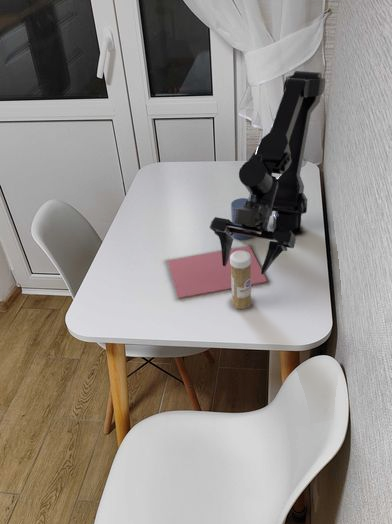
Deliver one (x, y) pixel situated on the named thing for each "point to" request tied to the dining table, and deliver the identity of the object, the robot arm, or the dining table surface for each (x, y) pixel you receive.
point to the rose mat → (208, 273)
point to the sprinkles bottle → (241, 279)
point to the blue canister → (234, 205)
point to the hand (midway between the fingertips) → (242, 270)
